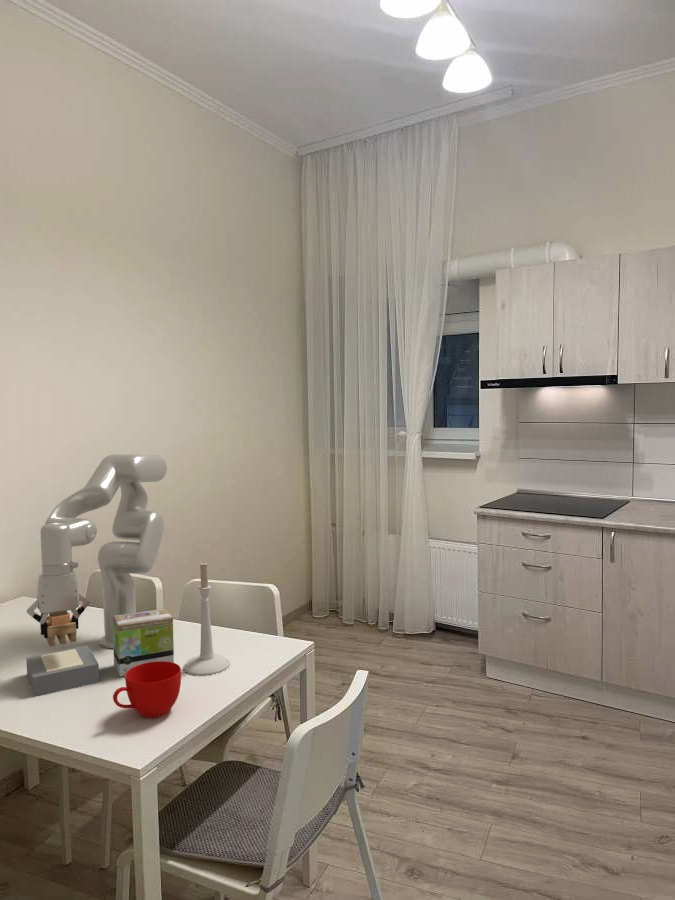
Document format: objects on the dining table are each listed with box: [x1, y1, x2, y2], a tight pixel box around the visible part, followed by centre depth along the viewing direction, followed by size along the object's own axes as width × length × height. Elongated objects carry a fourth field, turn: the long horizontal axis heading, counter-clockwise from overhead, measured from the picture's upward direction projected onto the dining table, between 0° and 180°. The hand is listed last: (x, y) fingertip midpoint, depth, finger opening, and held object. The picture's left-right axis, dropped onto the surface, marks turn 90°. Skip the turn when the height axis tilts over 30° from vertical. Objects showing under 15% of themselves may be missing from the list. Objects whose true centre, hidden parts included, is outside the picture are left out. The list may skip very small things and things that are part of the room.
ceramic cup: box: [112, 661, 182, 719], centre depth 155 cm, size 13×17×10 cm
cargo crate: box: [48, 610, 71, 626], centre depth 176 cm, size 4×5×3 cm
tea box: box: [113, 608, 175, 678], centre depth 184 cm, size 15×10×15 cm
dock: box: [26, 645, 100, 697], centre depth 177 cm, size 16×16×5 cm
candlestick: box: [183, 562, 231, 677], centre depth 183 cm, size 13×13×30 cm
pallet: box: [45, 612, 77, 647], centre depth 176 cm, size 7×11×5 cm, turn 31°
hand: (59, 633), depth 176 cm, fingers closed on pallet, 6 cm apart
